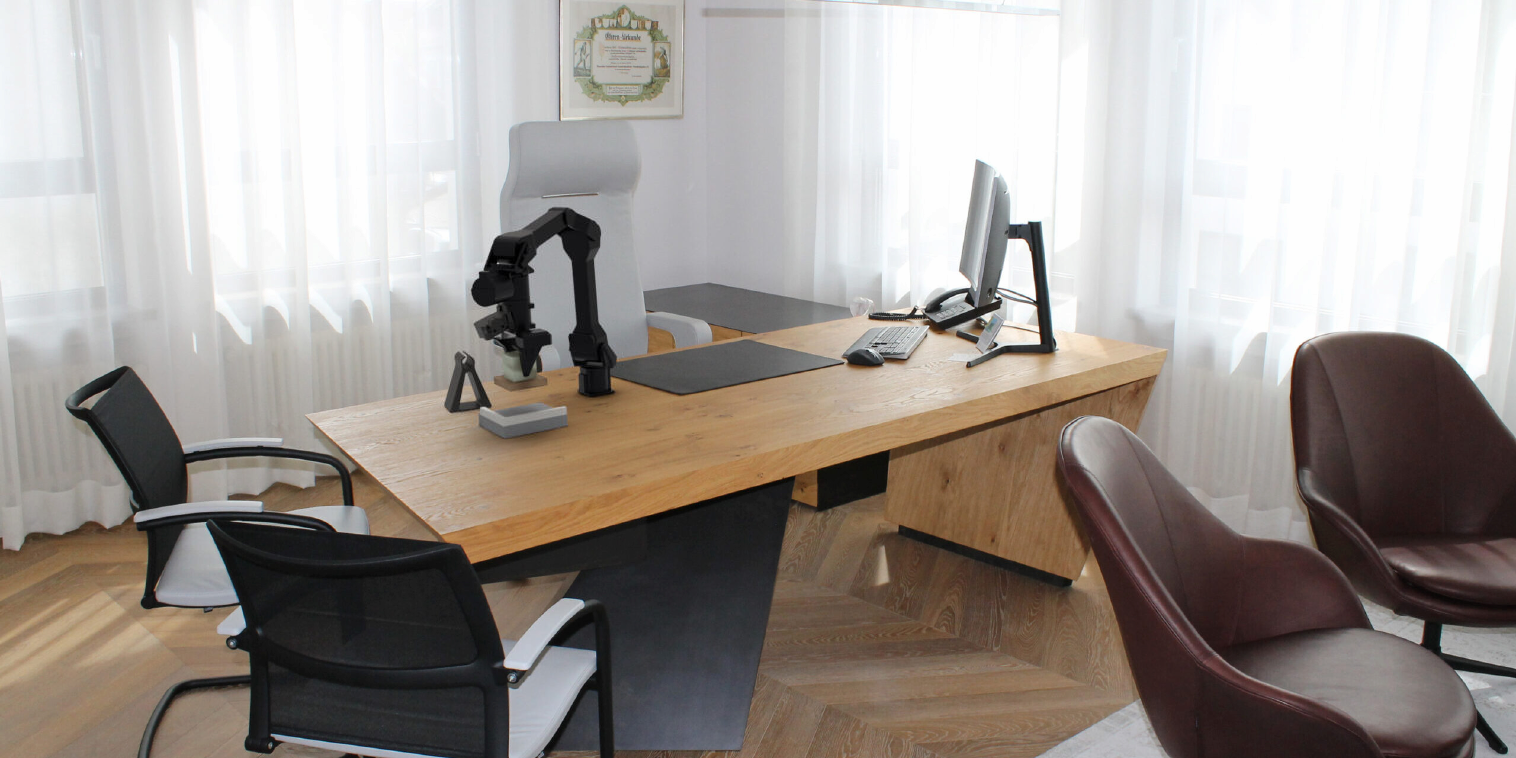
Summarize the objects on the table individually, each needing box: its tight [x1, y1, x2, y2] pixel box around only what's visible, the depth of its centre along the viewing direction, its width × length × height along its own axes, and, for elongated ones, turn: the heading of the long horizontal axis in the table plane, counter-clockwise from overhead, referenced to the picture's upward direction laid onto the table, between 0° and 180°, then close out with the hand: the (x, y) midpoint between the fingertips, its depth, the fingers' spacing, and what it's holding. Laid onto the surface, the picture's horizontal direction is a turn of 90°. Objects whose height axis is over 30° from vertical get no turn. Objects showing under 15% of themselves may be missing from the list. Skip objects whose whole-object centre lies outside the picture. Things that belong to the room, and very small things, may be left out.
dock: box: [477, 402, 569, 439], centre depth 225 cm, size 14×12×4 cm
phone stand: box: [443, 350, 493, 414], centre depth 238 cm, size 9×6×12 cm, turn 118°
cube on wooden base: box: [493, 351, 548, 392], centre depth 222 cm, size 8×8×6 cm
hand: (520, 374), depth 222 cm, fingers closed on cube on wooden base, 5 cm apart
